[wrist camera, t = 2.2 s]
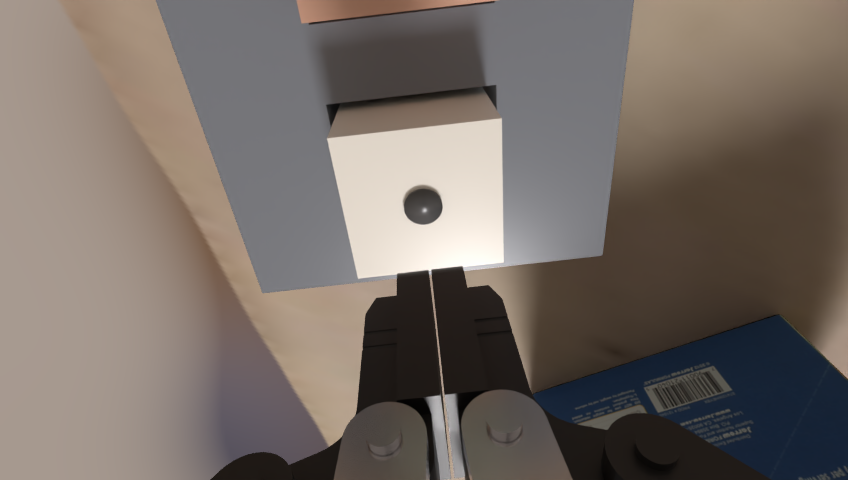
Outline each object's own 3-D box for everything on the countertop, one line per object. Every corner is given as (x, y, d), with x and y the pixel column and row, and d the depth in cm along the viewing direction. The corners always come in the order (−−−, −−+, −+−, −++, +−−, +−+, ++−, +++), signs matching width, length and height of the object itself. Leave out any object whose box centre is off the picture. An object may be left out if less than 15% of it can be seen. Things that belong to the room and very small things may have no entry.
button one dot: (342, 96, 17) (326, 140, 13) (478, 81, 17) (502, 119, 13) (365, 215, 20) (357, 280, 16) (483, 202, 20) (504, 264, 16)
